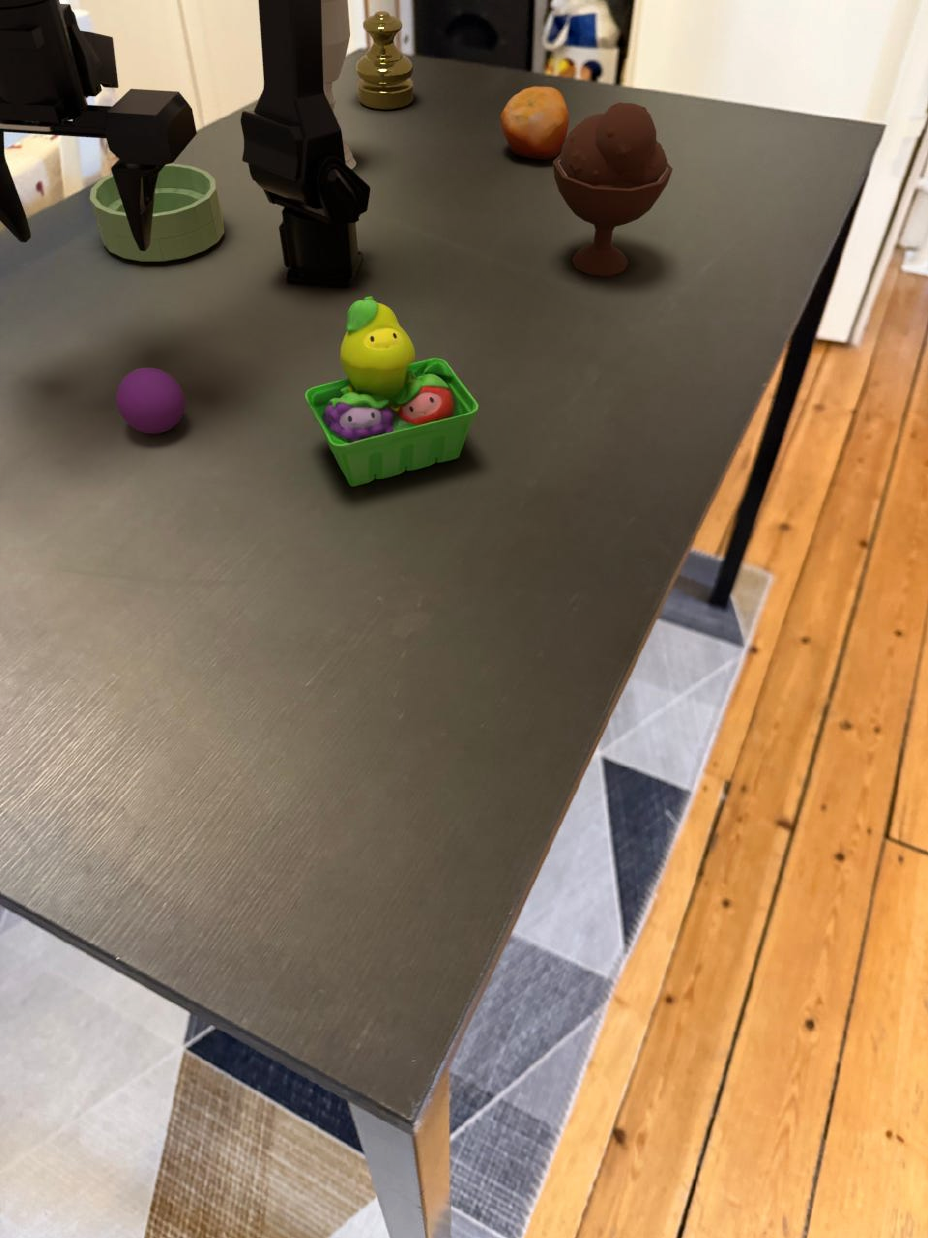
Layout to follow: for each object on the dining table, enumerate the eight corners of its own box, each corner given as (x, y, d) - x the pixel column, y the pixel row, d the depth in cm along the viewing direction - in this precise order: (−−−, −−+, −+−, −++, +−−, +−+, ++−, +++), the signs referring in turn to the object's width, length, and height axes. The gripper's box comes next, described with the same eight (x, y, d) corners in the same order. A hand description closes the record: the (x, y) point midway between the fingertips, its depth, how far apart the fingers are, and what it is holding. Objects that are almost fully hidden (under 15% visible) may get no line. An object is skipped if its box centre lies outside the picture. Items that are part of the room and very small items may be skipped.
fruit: (587, 131, 108) (577, 79, 101) (557, 185, 108) (545, 136, 100) (529, 117, 111) (516, 65, 104) (500, 170, 110) (484, 121, 103)
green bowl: (240, 215, 96) (231, 167, 92) (202, 271, 88) (191, 220, 84) (132, 207, 97) (119, 159, 93) (84, 261, 89) (68, 211, 85)
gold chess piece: (352, 108, 116) (345, 19, 109) (365, 88, 121) (360, 2, 114) (407, 112, 116) (404, 23, 108) (418, 92, 121) (416, 5, 113)
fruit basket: (340, 503, 65) (323, 369, 57) (305, 434, 71) (285, 303, 62) (481, 464, 68) (485, 333, 60) (437, 402, 74) (435, 272, 65)
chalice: (353, 179, 102) (339, -7, 89) (297, 173, 103) (274, -12, 89) (370, 154, 107) (359, -26, 93) (316, 148, 108) (297, -31, 94)
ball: (199, 411, 73) (185, 357, 69) (177, 449, 69) (162, 395, 66) (140, 405, 73) (123, 352, 69) (116, 443, 70) (97, 389, 66)
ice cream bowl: (666, 249, 92) (696, 89, 81) (633, 299, 85) (660, 132, 74) (569, 228, 95) (585, 70, 83) (530, 275, 88) (542, 110, 77)
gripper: (197, -31, 59) (238, 205, 71) (-69, -45, 61) (14, 190, 72) (137, 18, 52) (193, 273, 64) (-165, 2, 53) (-55, 254, 65)
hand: (85, 244), depth 66 cm, fingers open, 9 cm apart
